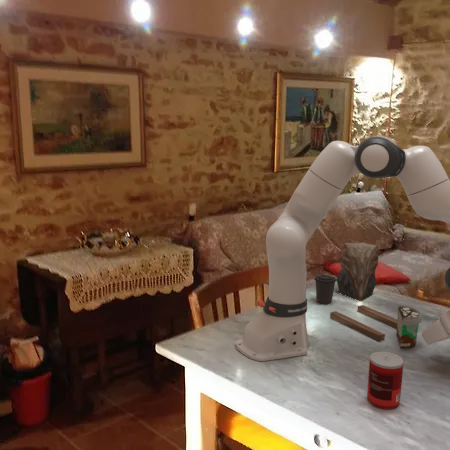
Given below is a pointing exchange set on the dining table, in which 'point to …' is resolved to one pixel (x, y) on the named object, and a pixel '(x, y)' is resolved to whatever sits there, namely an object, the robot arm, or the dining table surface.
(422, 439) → the dining table surface
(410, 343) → the food container
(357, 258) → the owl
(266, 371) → the dining table surface
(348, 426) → the dining table surface
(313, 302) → the dining table surface
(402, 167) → the robot arm
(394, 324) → the walnut bay
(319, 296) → the coffee cup
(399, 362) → the canned food
